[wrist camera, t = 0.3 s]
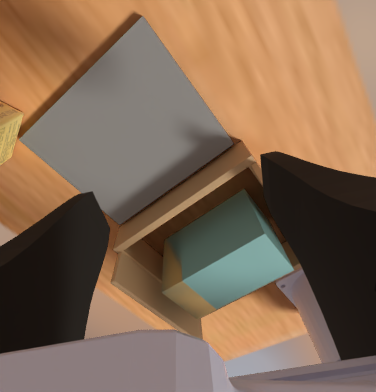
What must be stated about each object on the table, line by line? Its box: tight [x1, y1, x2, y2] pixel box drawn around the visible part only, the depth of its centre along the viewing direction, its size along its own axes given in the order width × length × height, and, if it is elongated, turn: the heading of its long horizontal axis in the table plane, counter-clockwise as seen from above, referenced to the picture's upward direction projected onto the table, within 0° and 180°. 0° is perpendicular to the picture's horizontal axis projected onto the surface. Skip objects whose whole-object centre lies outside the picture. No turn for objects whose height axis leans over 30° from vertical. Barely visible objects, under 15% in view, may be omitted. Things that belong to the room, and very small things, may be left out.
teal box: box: [162, 189, 294, 319], centre depth 22 cm, size 4×9×6 cm, turn 128°
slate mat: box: [19, 16, 234, 225], centre depth 19 cm, size 10×12×1 cm
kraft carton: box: [111, 141, 301, 339], centre depth 22 cm, size 12×13×6 cm
